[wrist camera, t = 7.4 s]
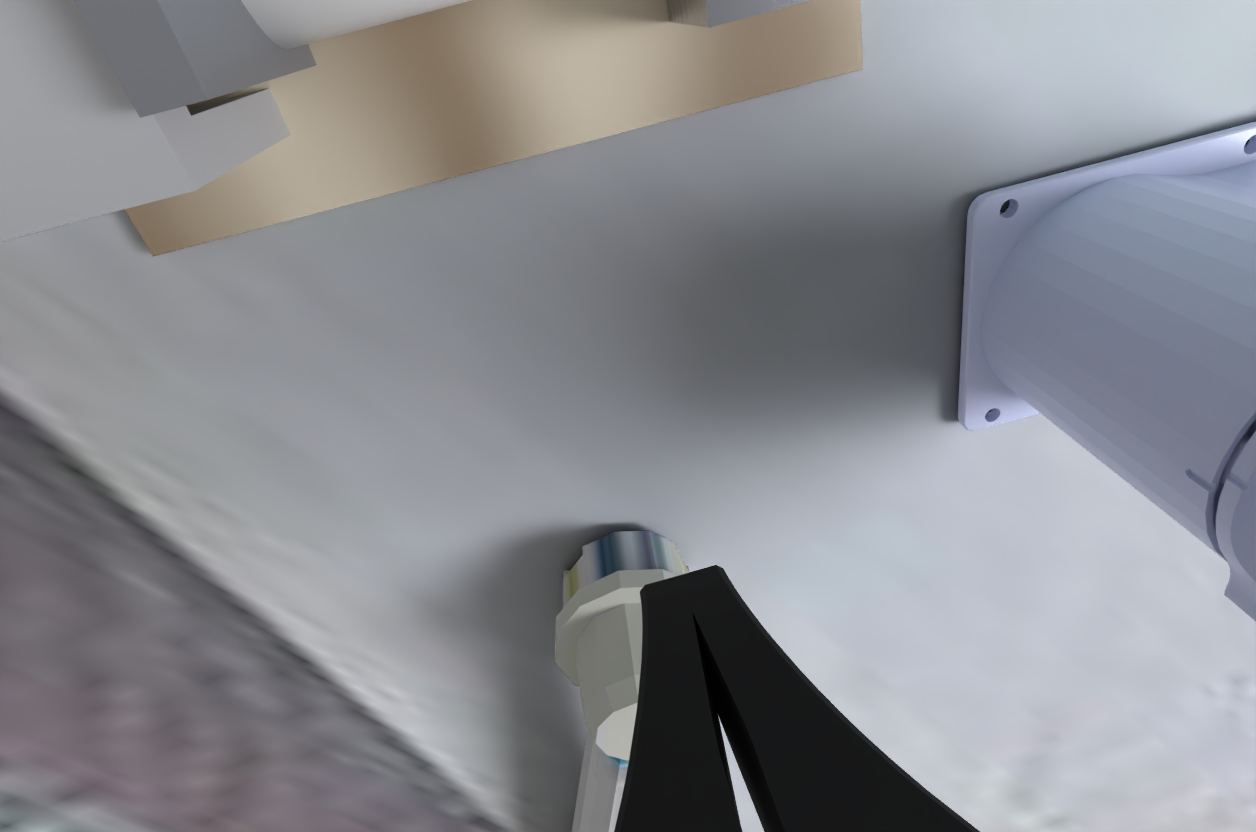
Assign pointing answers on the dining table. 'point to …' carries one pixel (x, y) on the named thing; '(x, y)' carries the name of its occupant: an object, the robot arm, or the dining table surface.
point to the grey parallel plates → (721, 10)
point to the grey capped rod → (608, 657)
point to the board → (493, 98)
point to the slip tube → (223, 41)
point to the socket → (101, 128)
